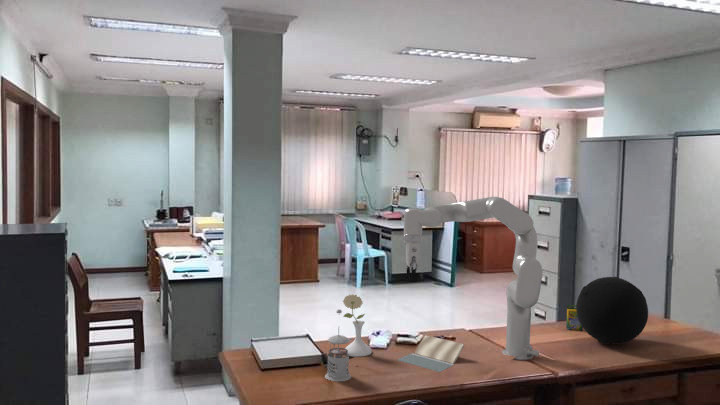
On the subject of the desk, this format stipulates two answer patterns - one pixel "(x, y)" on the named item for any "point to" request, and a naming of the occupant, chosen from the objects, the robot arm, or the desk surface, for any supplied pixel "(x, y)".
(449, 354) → the plank
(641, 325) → the sphere
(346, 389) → the desk surface
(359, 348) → the flower in vase
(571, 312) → the crayon box
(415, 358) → the grey rectangular panel
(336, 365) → the french press
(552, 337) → the desk surface
